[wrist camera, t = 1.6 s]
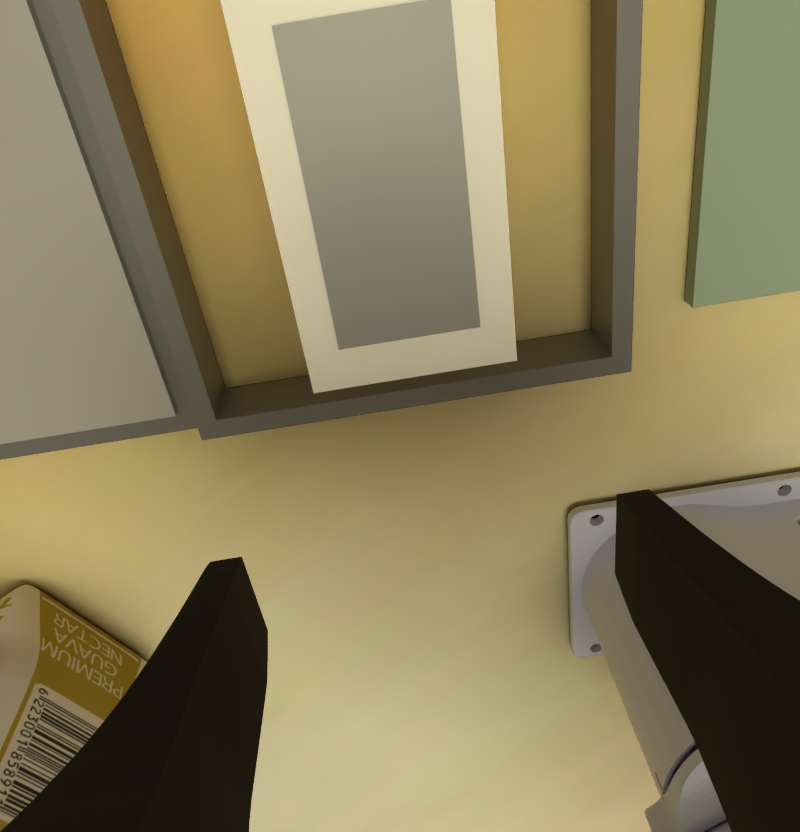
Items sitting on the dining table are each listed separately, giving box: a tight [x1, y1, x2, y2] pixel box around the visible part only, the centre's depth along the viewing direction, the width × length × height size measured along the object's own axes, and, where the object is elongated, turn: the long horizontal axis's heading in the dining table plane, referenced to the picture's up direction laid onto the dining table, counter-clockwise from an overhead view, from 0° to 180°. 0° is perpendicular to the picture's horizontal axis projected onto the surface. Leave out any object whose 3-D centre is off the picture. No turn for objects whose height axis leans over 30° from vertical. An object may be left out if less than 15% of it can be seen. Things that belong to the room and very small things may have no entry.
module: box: [220, 0, 517, 393], centre depth 16 cm, size 4×8×7 cm, turn 8°
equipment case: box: [0, 0, 643, 460], centre depth 18 cm, size 23×16×2 cm
